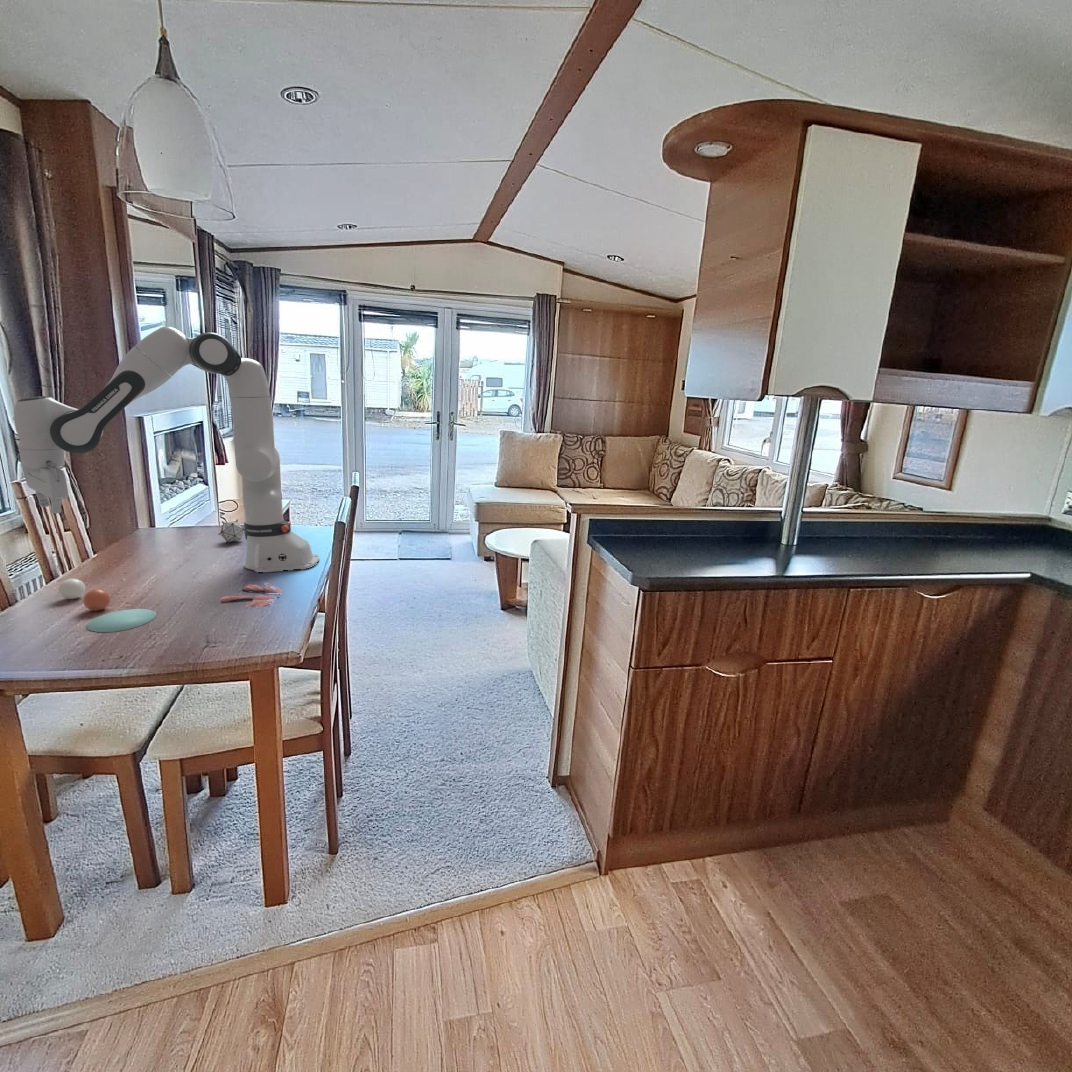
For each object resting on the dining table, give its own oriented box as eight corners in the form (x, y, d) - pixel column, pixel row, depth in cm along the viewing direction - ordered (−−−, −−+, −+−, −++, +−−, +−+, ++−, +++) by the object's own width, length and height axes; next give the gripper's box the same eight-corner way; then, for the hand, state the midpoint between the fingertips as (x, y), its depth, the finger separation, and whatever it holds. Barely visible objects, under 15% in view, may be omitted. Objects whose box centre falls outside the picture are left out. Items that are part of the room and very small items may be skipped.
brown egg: (116, 605, 150) (113, 585, 149) (104, 613, 145) (101, 593, 144) (93, 606, 149) (89, 586, 148) (80, 614, 144) (76, 593, 143)
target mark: (166, 608, 149) (166, 607, 149) (139, 631, 136) (138, 630, 136) (106, 610, 147) (106, 609, 147) (73, 633, 134) (73, 632, 134)
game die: (237, 552, 210) (239, 535, 204) (213, 545, 208) (214, 527, 202) (248, 535, 217) (250, 518, 210) (224, 528, 215) (225, 510, 208)
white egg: (91, 594, 157) (87, 575, 156) (79, 601, 152) (75, 582, 151) (69, 595, 156) (65, 576, 155) (56, 602, 151) (51, 582, 150)
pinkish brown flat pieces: (263, 614, 149) (263, 605, 148) (189, 606, 153) (188, 598, 152) (307, 588, 169) (307, 580, 168) (240, 581, 172) (239, 574, 172)
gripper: (71, 463, 149) (79, 515, 153) (44, 453, 160) (52, 501, 164) (41, 465, 144) (49, 518, 148) (15, 454, 155) (23, 504, 159)
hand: (50, 509), depth 156 cm, fingers open, 8 cm apart
